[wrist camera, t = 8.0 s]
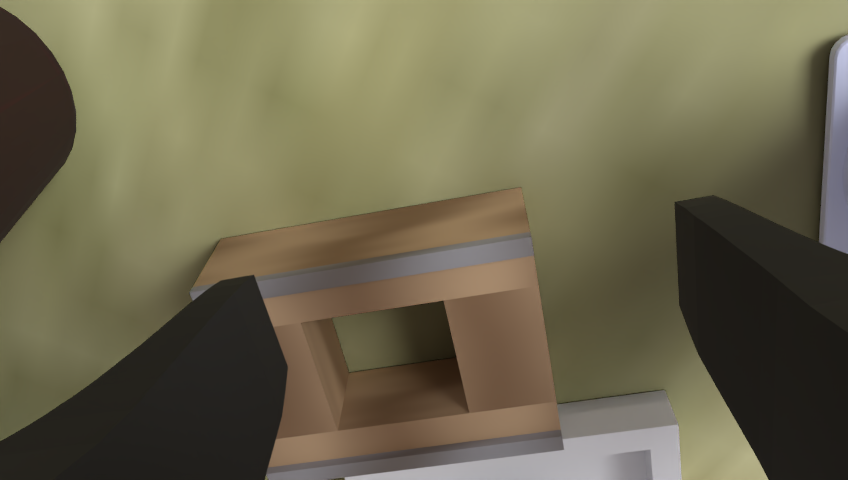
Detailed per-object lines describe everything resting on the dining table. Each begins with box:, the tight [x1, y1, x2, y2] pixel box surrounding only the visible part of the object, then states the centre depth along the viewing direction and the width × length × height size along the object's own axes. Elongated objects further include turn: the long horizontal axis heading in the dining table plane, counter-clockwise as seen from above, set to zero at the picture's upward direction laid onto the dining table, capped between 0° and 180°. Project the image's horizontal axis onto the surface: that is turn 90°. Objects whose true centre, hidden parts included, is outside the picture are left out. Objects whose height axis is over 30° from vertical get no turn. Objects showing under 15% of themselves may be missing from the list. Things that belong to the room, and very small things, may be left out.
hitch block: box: [189, 187, 564, 480], centre depth 24 cm, size 10×8×3 cm
